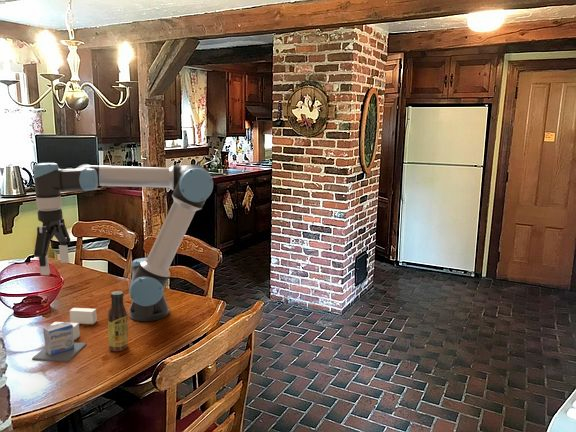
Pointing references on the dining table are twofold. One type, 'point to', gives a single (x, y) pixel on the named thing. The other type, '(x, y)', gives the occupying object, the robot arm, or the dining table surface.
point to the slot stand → (80, 319)
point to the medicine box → (59, 338)
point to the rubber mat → (60, 354)
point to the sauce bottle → (117, 323)
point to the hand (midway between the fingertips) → (55, 268)
